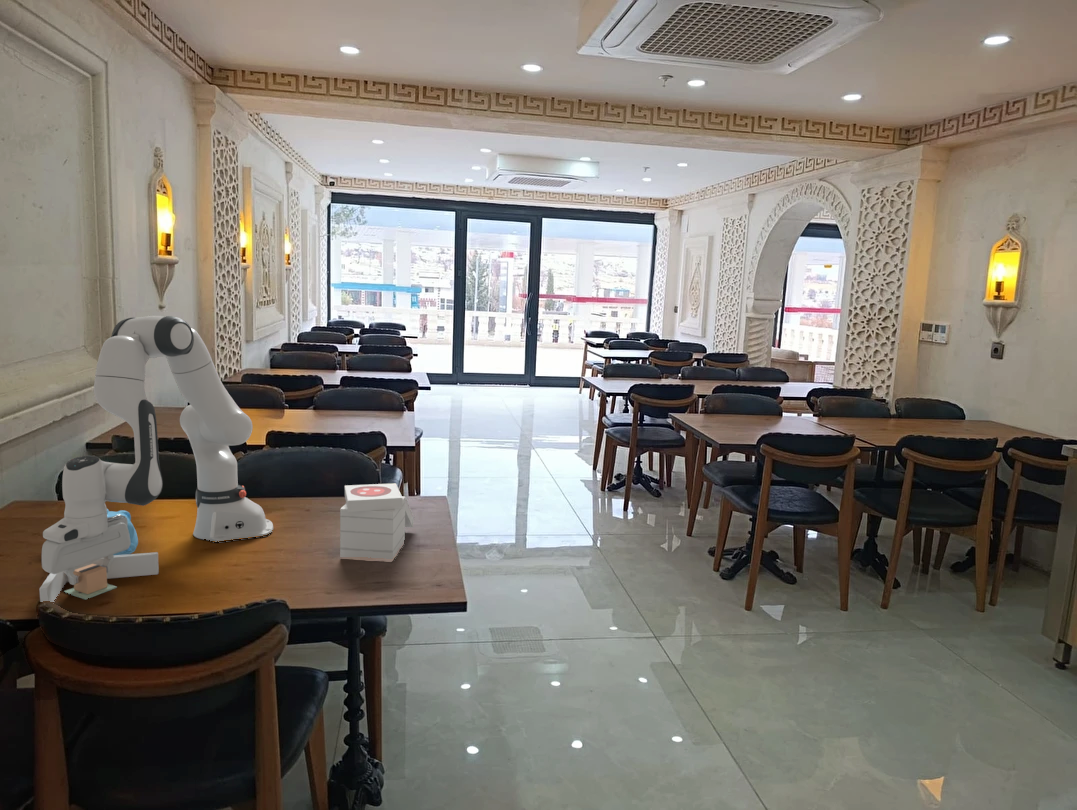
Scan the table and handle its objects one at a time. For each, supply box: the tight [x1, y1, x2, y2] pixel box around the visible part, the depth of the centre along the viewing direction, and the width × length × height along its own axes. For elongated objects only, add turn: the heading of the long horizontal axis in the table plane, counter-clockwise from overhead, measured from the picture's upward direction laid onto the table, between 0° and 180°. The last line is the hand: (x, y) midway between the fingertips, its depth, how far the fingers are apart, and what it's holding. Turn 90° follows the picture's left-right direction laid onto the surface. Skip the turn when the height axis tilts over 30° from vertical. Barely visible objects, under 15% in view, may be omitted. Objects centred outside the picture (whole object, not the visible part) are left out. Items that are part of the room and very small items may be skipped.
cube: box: [73, 564, 108, 594], centre depth 181 cm, size 5×5×5 cm
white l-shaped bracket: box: [38, 551, 160, 603], centre depth 181 cm, size 22×18×6 cm
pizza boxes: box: [339, 482, 415, 559], centre depth 218 cm, size 19×30×18 cm, turn 177°
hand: (90, 578), depth 181 cm, fingers open, 6 cm apart
